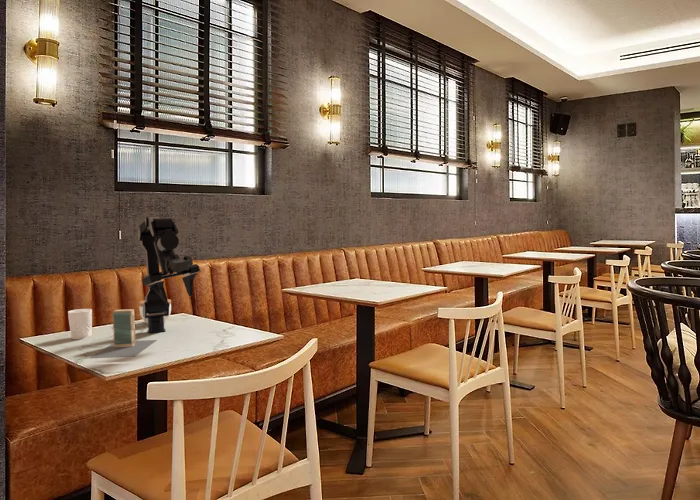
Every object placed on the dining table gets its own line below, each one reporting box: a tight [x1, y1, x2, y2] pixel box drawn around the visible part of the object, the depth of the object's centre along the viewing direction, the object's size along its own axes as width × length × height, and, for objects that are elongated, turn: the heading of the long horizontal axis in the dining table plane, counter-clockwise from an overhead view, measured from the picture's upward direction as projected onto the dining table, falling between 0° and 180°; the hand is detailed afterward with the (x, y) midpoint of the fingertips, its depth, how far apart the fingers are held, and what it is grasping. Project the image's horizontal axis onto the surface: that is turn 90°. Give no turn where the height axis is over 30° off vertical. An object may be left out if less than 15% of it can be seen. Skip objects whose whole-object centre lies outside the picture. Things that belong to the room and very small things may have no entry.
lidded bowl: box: [138, 298, 172, 325], centre depth 222 cm, size 13×13×11 cm
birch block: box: [111, 308, 137, 347], centre depth 181 cm, size 3×6×12 cm, turn 92°
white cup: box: [67, 308, 93, 340], centre depth 199 cm, size 8×8×10 cm
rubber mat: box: [89, 339, 158, 359], centre depth 178 cm, size 22×14×1 cm, turn 2°
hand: (178, 299), depth 181 cm, fingers open, 9 cm apart
